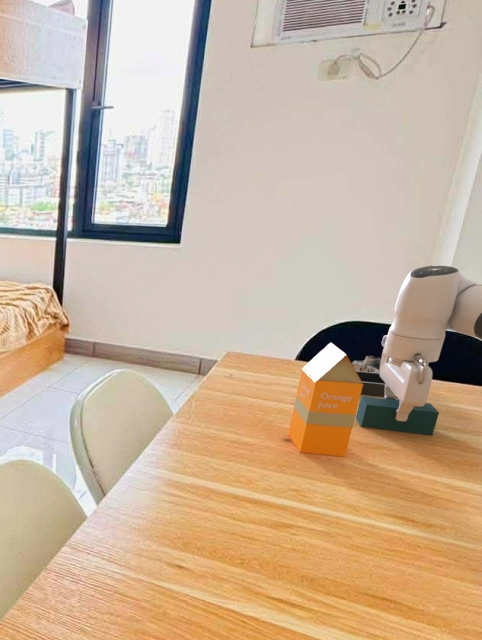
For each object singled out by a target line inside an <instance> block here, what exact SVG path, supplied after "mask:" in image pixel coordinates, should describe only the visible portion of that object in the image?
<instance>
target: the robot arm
mask: <svg viewBox="0 0 482 640" xmlns="http://www.w3.org/2000/svg"><path fill="white" fill-rule="evenodd" d="M393 311H394V320H393V322H392V324H391V325H390V327H389V329H388V333H387V335H383V337H382V340H381V346H382V347H383V349H382V353H381V358H380V360H381V363H380V371H379V372H380V377H381V378H382V380H383V381H384V382H385V396H384V397H383V399H392V400H400V402H399V404H400V405H399V408H398V410H396V412H395V416H394V417H395V418H396V420H397V421H406V420H407V418H408V415H409V413H410V412H411V410H412V409H413V408H414V406H418V407H422V406H424V405H425V403H428V402H427V401H428V398H429V394H430V389H431V385H432V381H433V369H432V368H431V367H430V366H429V363H435V362H437V361H439V358H440V355H441V352H442V349H443V345H444V343H445V342H444V341H445V339H446V331H448V330H450V331H454V332H456V333H459V334H463V335H465V336H470V337H473V338H476V339H479V340H481V341H482V284H480V283H477V282H476V281H472V280H470V279H468V278H466V277H464V276H463V275H462V274H461V273H460V270H459V269H458V268H456V267H453V266H449V265H427V266H420V267H417V268H415V269H412V270H410V272H409V273H408V274H407V275H406V277H405V279H404V280H403V282H402V285H401V287H400V289H399V293H398V295H397V299H396V302H395V306H394V310H393ZM396 397H397V398H396Z"/></svg>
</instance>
